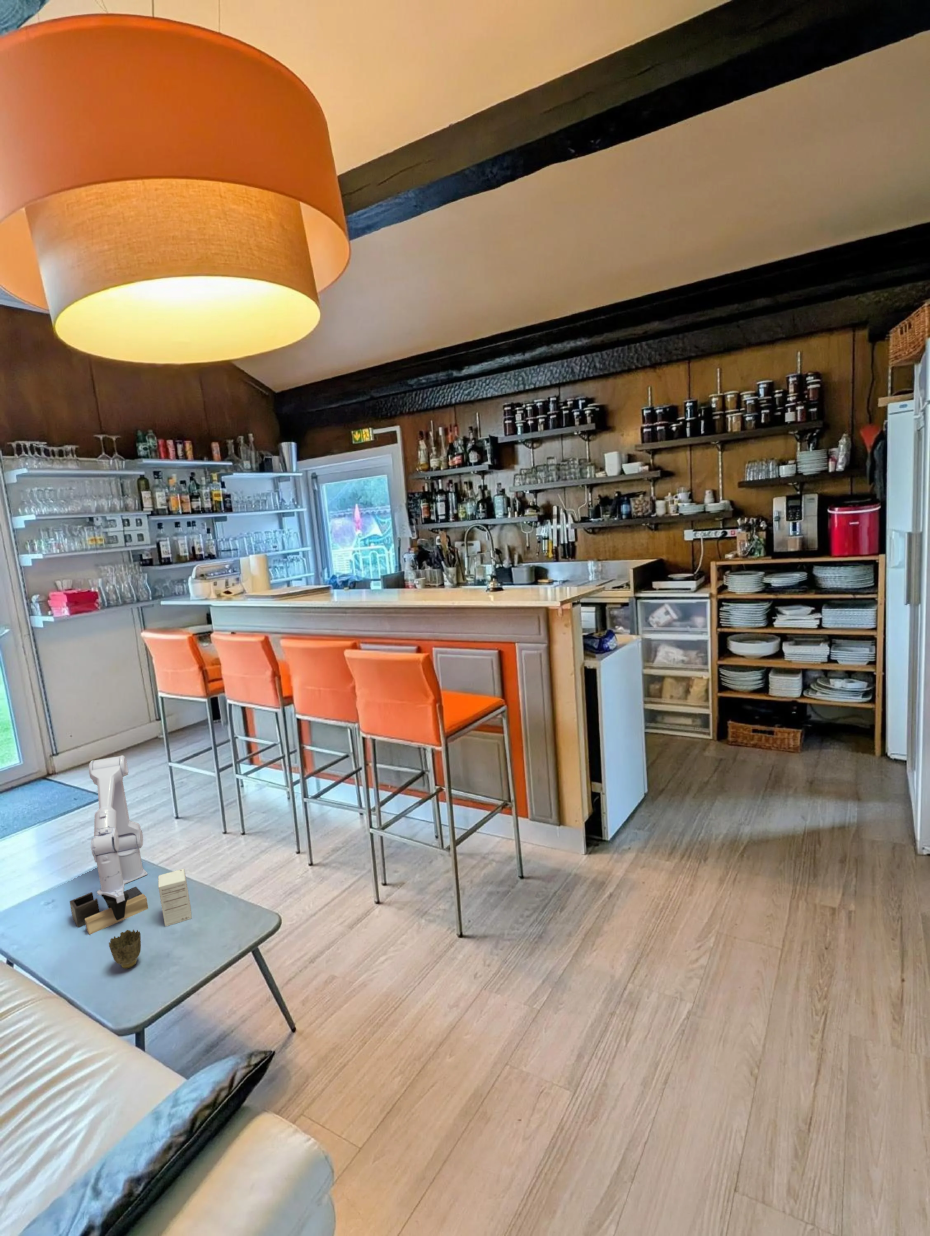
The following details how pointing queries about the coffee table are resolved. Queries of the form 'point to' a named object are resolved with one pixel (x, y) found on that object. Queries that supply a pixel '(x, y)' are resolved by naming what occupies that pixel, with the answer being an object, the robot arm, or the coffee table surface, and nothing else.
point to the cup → (126, 948)
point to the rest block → (132, 892)
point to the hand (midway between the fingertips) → (117, 914)
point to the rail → (108, 918)
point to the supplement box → (174, 897)
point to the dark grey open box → (83, 908)
